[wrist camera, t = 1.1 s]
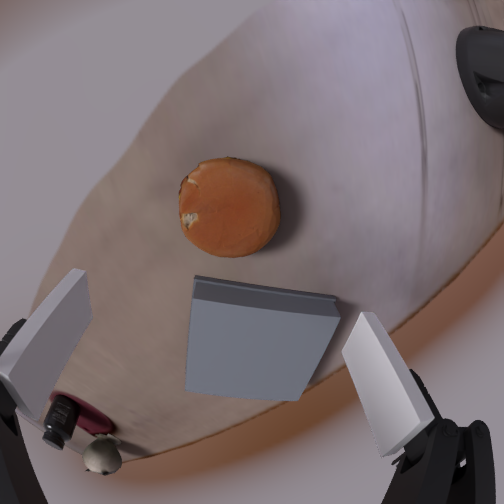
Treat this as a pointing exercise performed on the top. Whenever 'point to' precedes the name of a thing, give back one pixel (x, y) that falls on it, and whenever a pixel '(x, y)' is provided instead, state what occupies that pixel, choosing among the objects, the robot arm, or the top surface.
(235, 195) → the burger
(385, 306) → the top surface
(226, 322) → the stacking base
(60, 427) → the supplement bottle
